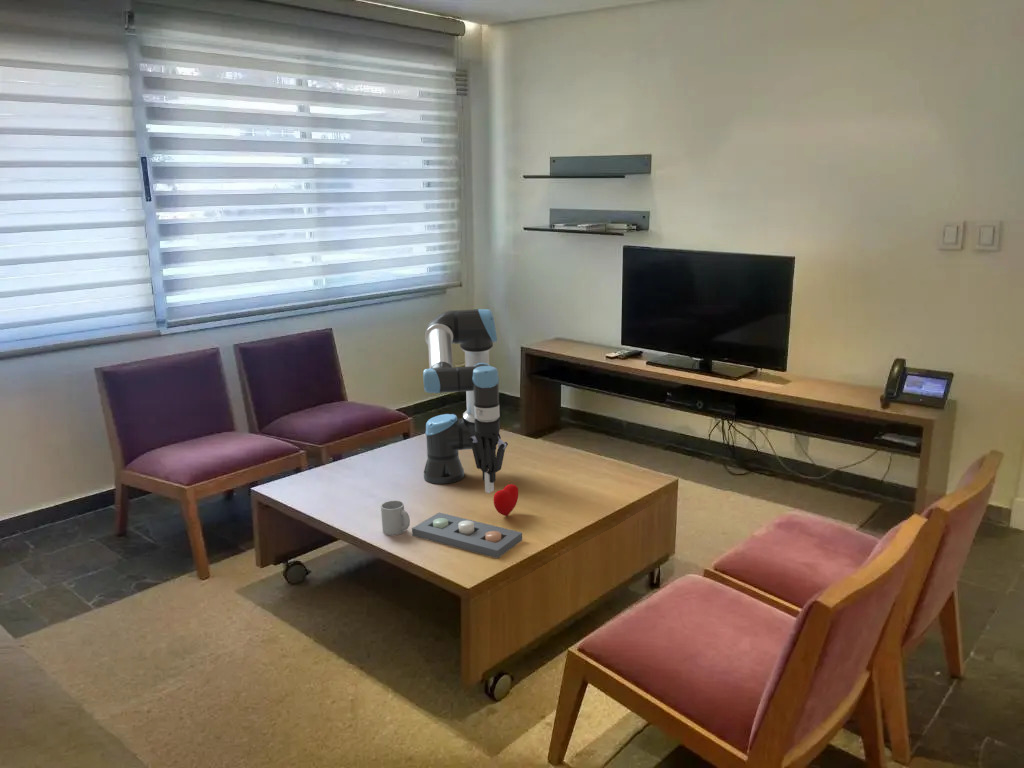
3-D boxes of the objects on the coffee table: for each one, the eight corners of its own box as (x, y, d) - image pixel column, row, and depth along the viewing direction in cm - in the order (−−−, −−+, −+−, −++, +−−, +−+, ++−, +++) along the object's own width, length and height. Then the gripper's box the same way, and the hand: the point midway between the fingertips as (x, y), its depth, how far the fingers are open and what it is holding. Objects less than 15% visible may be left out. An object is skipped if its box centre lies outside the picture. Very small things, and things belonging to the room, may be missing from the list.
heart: (504, 524, 256) (503, 495, 254) (490, 520, 259) (489, 492, 257) (522, 511, 266) (522, 483, 263) (509, 508, 269) (508, 480, 266)
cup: (392, 524, 258) (390, 498, 256) (417, 530, 253) (415, 504, 251) (378, 533, 252) (376, 506, 250) (402, 539, 247) (401, 512, 245)
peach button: (482, 544, 241) (482, 535, 240) (491, 538, 245) (491, 529, 244) (495, 548, 239) (495, 539, 238) (504, 542, 243) (504, 533, 242)
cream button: (455, 533, 246) (455, 525, 245) (464, 528, 250) (464, 519, 249) (468, 537, 244) (468, 528, 243) (477, 531, 248) (476, 522, 247)
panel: (412, 535, 250) (411, 528, 249) (439, 519, 261) (438, 512, 261) (497, 558, 233) (497, 550, 233) (522, 540, 245) (522, 532, 244)
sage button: (430, 531, 252) (429, 522, 251) (439, 525, 256) (439, 517, 255) (442, 534, 249) (442, 525, 248) (451, 528, 253) (451, 519, 252)
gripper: (461, 418, 237) (465, 491, 244) (498, 425, 231) (500, 500, 237) (476, 411, 243) (478, 482, 250) (512, 417, 237) (514, 491, 243)
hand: (489, 491), depth 244 cm, fingers closed
